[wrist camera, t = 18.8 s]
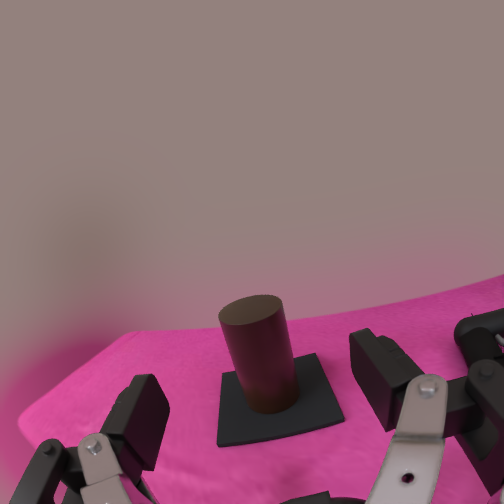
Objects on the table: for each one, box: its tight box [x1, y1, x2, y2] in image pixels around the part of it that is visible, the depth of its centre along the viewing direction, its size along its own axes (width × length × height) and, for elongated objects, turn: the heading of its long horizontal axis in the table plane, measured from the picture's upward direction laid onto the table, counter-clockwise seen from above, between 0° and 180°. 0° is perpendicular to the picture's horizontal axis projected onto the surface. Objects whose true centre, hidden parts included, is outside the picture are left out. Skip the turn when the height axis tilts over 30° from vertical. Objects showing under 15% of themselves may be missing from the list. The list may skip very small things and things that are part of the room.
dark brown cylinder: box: [218, 295, 300, 414], centre depth 21 cm, size 5×5×9 cm
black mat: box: [217, 353, 344, 447], centre depth 22 cm, size 10×10×1 cm
